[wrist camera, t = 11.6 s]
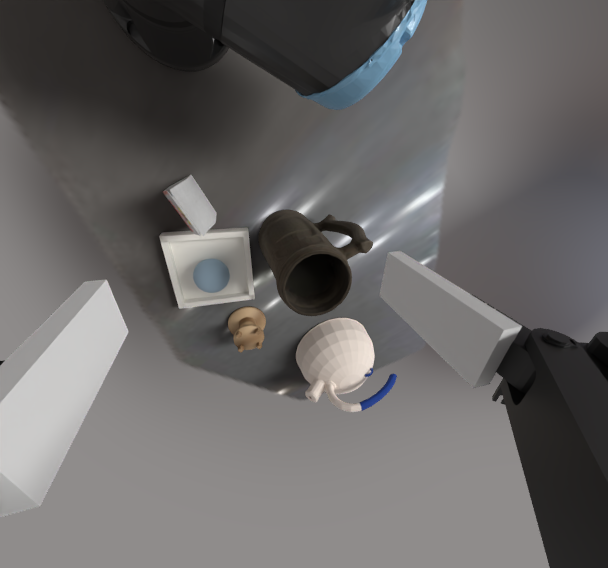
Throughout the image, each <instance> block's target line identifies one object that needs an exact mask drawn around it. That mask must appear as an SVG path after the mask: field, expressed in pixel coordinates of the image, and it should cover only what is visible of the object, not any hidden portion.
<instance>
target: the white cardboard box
mask: <svg viewBox="0 0 608 568" xmlns="http://www.w3.org/2000/svg"><path fill="white" fill-rule="evenodd" d="M163 193H164V195H165V196H166V197H167V199H168V200H169V201H170V203H171V204H172V205H173V207H174V208H175V209H176V211H177V212H178V213H179V215H180V216H181V217H182V219H183V220H184V221H185V223H186V224H187V225H188V227H189V228H190V229H191V231H192V232H193V233H194V234H196V235H199V236H201V234H202V235H203V236H204V235H205V234H206V232H207V231H208V230H209V229H210V228H211V227H212V226H213V225H214V224H215V223H216V214H217V213H216V212H215V210H214V209H213V207H212V205H211V204H210V202H209V201H208V199H207V198H206V196H205V195H204V193H203V192H202V190H201V189H200V187H199V186H198V184H197V183H196V181H195V180H194V178H193V177H192V175H189V176H187V177H186V178H184V179H182V180H180V181H178V182H176V183H174V184H173V185H171V186H169V187H168V188H167V189H165V190H164V191H163ZM200 233H201V234H200Z"/></svg>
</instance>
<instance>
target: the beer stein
mask: <svg viewBox="0 0 608 568" xmlns="http://www.w3.org/2000/svg"><path fill="white" fill-rule="evenodd" d="M322 231H333V232H338V233H342V234H345V235H348V236H350V237H351V238H352V241H351V242H350V243H349V244H348V245H346V246H344V247H341V248H336V247H334V246H333V245H332V244H331V243H330V242H329V241H328V239H327V238H326V237H325V236H324V235H323V234H322V233H321V232H322ZM259 245H260V248H261V251H262V253H263V255H264V257H265V259H266V260H267V262H268V264H269V266H270V268H271V270H272V272H273V274H274V276H275V279H276V282H277V289H278V293H279V295H280V297H281V299H282V300H283V301H284V302H285V304H287V306H288V307H289V308H290V309H292V310H293V311H295V312H296V313H298V314H301V315H306V316H318V315H322V314H325V313H328V312H330V311H332V310H333V309H334V308H336V307H337V306H338V305H339V304H341V303H342V301H343V300H344V299H345V298H346V296H347V294H348V292H349V290H350V287H351V283H352V273H351V269H350V267H349V265H348V261H347V259H349V258H351V257H353V256H354V255H356V254H358V253H367V252H368V251H369V250H370V249H371V248H372V246H373V242H372V241H370V240H369V239H368V238H367V237H366V235H365V233H364V230H363V229H362V228H361V227H360V226H359V225H357V224H355V223H352V222H346V221H335V217H333V216H332V215H328V216H327V217H326V218H325V219H324V220H322V221H321V222H320V223H311V222H310V221H309V220H308V219H307V218H306V217H305V216H304V215H302V214H301V213H299V212H297V211H293V210H281V211H278V212H275V213H273V214H272V215H270V216H269V217H268V218H267V219H266V220H265V221H264V222H263V224H262V226H261V228H260V231H259Z"/></svg>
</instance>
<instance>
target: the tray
mask: <svg viewBox="0 0 608 568" xmlns="http://www.w3.org/2000/svg"><path fill="white" fill-rule="evenodd" d="M200 234H201V233H200ZM159 238H160V241H161V245H162V248H163V252H164V256H165V259H166V263H167V267H168V270H169V274H170V277H171V281H172V285H173V288H174V292H175V296H176V299H177V303H178V306H179V309H181V308H189V307H196V306H204V305H212V304H219V303H227V302H235V301H243V300H250V299H255V296H254V286H253V275H252V264H251V254H250V243H249V232H248V228H247V227H244V228H227V229H210V230H208V231H207V232H206V234H205V235H204V236H203V235H202V234H201V236H199V235H196V234H194V233H193V232H192V231H177V232H162V233H161V235H160V236H159ZM205 259H217V260H220V261H221V262H223V263H224V264H225V265H226V266H227V268H228V270H229V274H230V278H229V282H228V284H227V286H226V287H225V288H224V289H222V290H221V291H219V292H215V293H208V292H204V291H202V290H201V289H199V288H198V287H197V286H196V284H195V282H194V279H193V272H194V269H195V267H196V266H197V264H198V263H200V262H201V261H203V260H205Z"/></svg>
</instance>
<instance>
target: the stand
mask: <svg viewBox="0 0 608 568" xmlns="http://www.w3.org/2000/svg"><path fill="white" fill-rule="evenodd" d="M265 324H266V320H265V316H264V314H263V312H262V311H261V310H259V309H258V308H255V307H250V306H247V307H242V308H239V309H237V310H235V311H234V312H233V313H232V314H231V315H230V317H229V320H228V328H229V330H230V332H231V333H232V334H233V335H234V343H235V345H236V346H237V347H238V351H239V352H242V351H243V350H251V349H254V348H256V347H257V348H259V349H260V348H261V347H262V342H263V340H264V333H263V329H264V327H265Z"/></svg>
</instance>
